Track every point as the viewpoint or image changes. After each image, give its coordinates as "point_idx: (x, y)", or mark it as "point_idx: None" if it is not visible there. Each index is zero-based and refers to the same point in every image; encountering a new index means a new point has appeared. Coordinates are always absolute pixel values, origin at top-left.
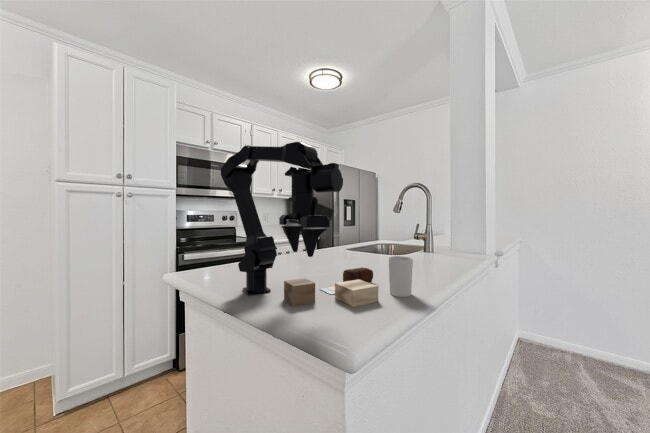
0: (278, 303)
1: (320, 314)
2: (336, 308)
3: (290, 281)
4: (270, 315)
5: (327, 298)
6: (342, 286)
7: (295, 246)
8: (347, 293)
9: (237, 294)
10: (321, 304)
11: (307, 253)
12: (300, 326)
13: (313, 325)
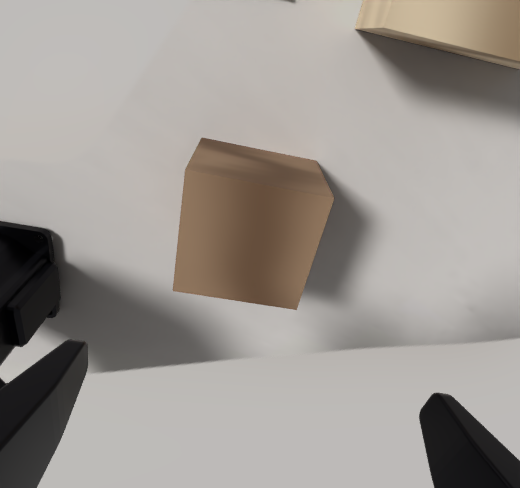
0: None
1: (432, 236)
2: (452, 146)
3: (206, 275)
4: (304, 342)
5: (323, 69)
6: (475, 49)
7: (59, 412)
8: (510, 62)
9: None
10: (362, 161)
11: (435, 452)
12: (437, 326)
13: (466, 301)
